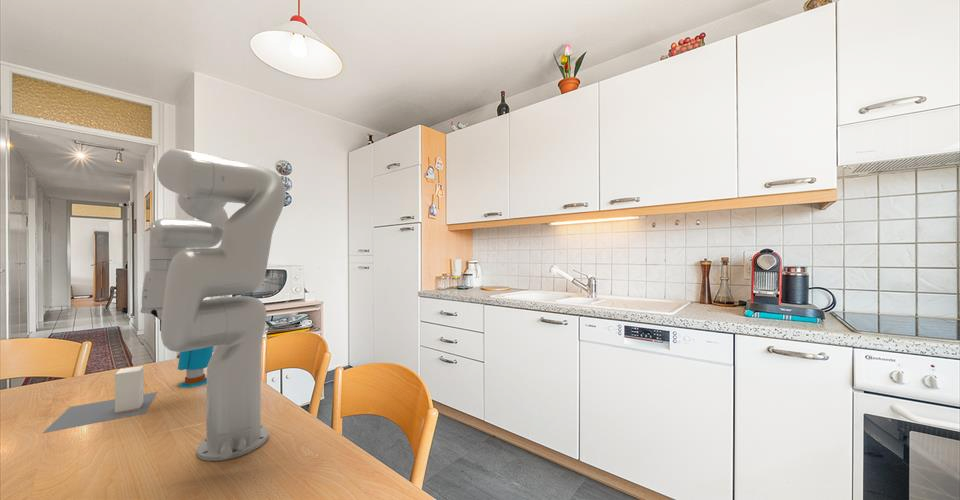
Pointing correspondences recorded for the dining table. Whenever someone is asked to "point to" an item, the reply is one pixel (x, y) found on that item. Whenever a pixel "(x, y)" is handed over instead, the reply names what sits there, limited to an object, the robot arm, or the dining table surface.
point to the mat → (96, 413)
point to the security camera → (194, 365)
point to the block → (129, 389)
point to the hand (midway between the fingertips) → (167, 333)
